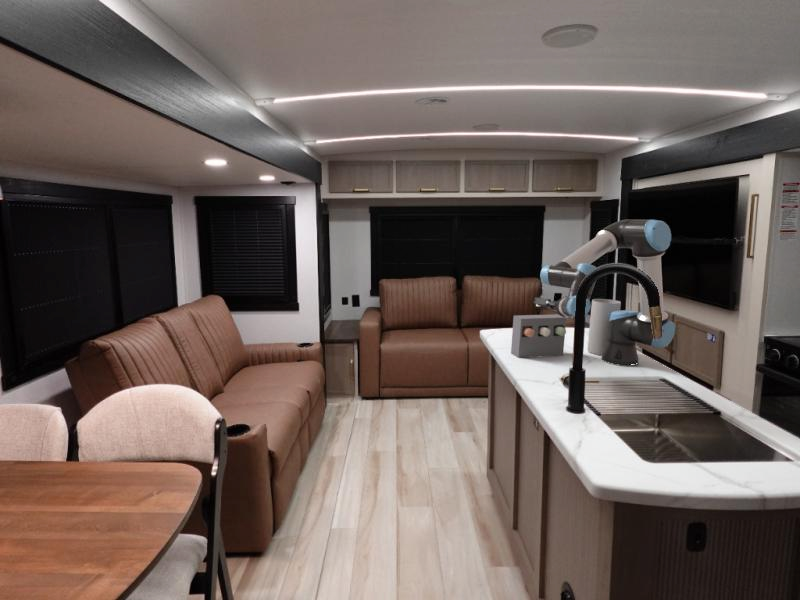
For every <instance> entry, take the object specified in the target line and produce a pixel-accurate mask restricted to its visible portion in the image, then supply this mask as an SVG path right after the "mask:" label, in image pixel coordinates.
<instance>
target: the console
mask: <svg viewBox="0 0 800 600" xmlns="http://www.w3.org/2000/svg"><path fill="white" fill-rule="evenodd" d="M512 320H513V321H512V334H511V350H510V354H512V355H513V356H515V357H516V358H518V359H520V358H521V359H522V358H523V357H524V358H537V356H542V357H556V355H557V357H559V356H558V355H561V356H564V348H565V336H566V334H565V335H564V336H560V335H558V334H555V333H554V328H555V327H556V326H560V327H562V328H565V329H566V326H567V318H566V317H562V316H560V315H559V314H558V313H557V314H555V313H554V314H525V315H524V314H523V315H522V314H519V315H513V319H512ZM542 326H543V327H546V328H548V329H550V335H549V336H547V337H545V336H543V335H541V334H539V333H538V329H539V328H540V327H542ZM525 327H528V328H531V329H533V330H534V332H535V334H534V336H533V337H528V336H526V335H524V334H523V333H522V331H523V329H524V328H525ZM524 358H523V359H524Z"/></svg>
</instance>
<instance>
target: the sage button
mask: <svg viewBox="0 0 800 600" xmlns="http://www.w3.org/2000/svg"><path fill="white" fill-rule="evenodd" d="M554 333H555V334H558V335H560V336H564V335H565V336H566V333H567V330H566V327H565V328H562V327H560V326H556V327H555V328H554Z"/></svg>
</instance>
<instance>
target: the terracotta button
mask: <svg viewBox="0 0 800 600" xmlns="http://www.w3.org/2000/svg"><path fill="white" fill-rule="evenodd" d="M522 333H523V334H524V335H526V336H528V337H533V336H534V334H535V332H534V330H533V329H531V328H528V327H525V328H524V329H523V331H522Z"/></svg>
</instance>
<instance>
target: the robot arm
mask: <svg viewBox="0 0 800 600" xmlns="http://www.w3.org/2000/svg"><path fill="white" fill-rule="evenodd" d="M671 232H672V231H671V228H670V226H669V225H668V224H667V223H666V222H665V221H663V220H657V219H631V218H630V219H622V220H619V221H616V222H614V223H611V224H610V225H608V226H606V227H604V228H602V229H600V231H597V234H596V235H595V237H594V238H592V239H591V240H589V241H588V242H586V243H585V244H584V245H582V246H581V247H579V248H577V249H576V250H575V251H574V252H572V253H571V254H569V255H568V256H566V257H565V258H564V259H562V260H560V261H559V262H558V263H556V264H555V265H553V264H551V265H550V264H547V265H545V266H543V267H542V269H541V270H540V274H539V277H540V280H541V282H542V283H543V284H544V285H548V286H554V287H561V288H566V289H569V291H568V295H567V296H566V297H561V298H560V299H558V300H552V299H551V298H542V297H541V296H539V297H534V300H533V304H534V305H535V307H538V308H539V307H546V308H550V309H551V310H552V311H556V313H557V314H558V315H560V316H562V317H566V319H568V318H572V319H574V320H576V319H575V311H576V295H577V291H578V288H579V285H580V283H581V281H582V280H583V279H584V278H585V276H587V275H588V274H589V273H590V272H591V271H593V270H594V269H596V268H598V267H596V266H595V265H593V264H592V263H594V262H596V260H598V259H600V258H601V257H602V256H603V255H605V254H607V253H611V252H613V251H614V250H617V249H631V251H632V252H631V254H632V256H633V257H634V258H636V262H637V263H636V265H637V270H638V269H640V270H641V271H643V272H644V273H645V274H646V275H648V276H649V277H650V278H651V280H652V281H653V282H654V284H655V286H656V287H657V289H658V292H659V296H660V306H661V313H662V337H661V338H660V339H654V338H653V334H652V329H651V320H650V313H649V305H648V299H647V295H646V292H645V290H644V288H643V287H642V285H641V284H640V283H639V282H638V294H639V309H640V311H639V310H630V309H629V310H624V309H623V310H621V309H620V311H614V312H612V313H611V315H610V320H609V321H610V322H609V332H608V342H607V345H606V347H605V350H604V352H603V353H602V356H601V360H602V361H603V360H604V361H603V362H605V361H606V362H605V363H608V362H609V363H608V364H611V363H613V364H612V365H615V364H619V365H618V366H622V365H631V364H636V363H638V364H639V360H640V358H639V355H638V351H637V344H641V345H646V346H651V347H652V348H659V349H663V348H664V349H665V347H667V346H668V345H669V344H670V343H672V341H673V339H674V336H675V334H676V324H675V323H674V322H673V321H671V320H669V314H668V313H667V312H666V311H665V309H664V291H663V274H662V273H663V272H662V271H663V270H662V256H664V254H666V250H668V248H669V247H670V246H671V242H672V233H671ZM596 282H597V280H596V281H595V282H594V283H593V284H592V286H591V287H590V289H589V291H588V294H587V299H586V307H585V315H584V316H586V315H587V314H588V313H589V312H591V307H592V303H591V301H590V299H591V296H592V293H593V290H594V289H595V284H596Z"/></svg>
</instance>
